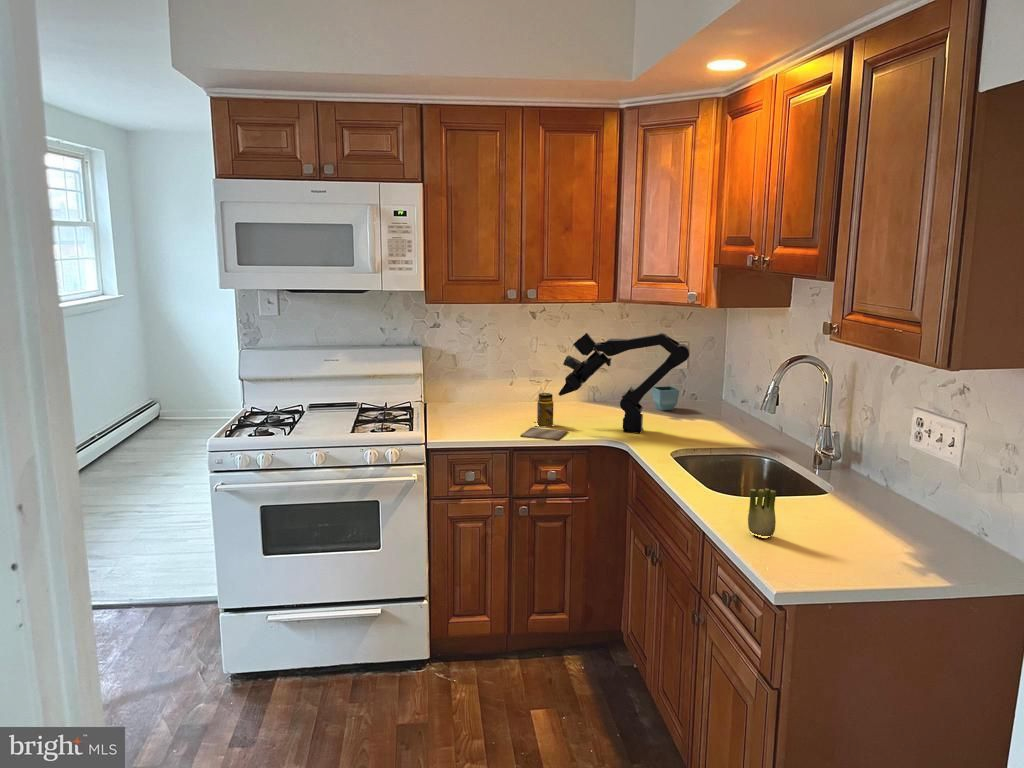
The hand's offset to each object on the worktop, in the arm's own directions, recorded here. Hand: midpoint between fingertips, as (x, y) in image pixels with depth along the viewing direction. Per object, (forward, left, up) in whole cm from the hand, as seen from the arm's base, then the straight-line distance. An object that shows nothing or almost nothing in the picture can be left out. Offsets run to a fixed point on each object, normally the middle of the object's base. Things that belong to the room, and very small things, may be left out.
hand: (561, 392), depth 291 cm
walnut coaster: (+2, +15, -13) cm, 20 cm away
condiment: (+7, +1, -13) cm, 15 cm away
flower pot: (-32, -43, -13) cm, 55 cm away
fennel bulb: (-76, +89, -13) cm, 117 cm away
